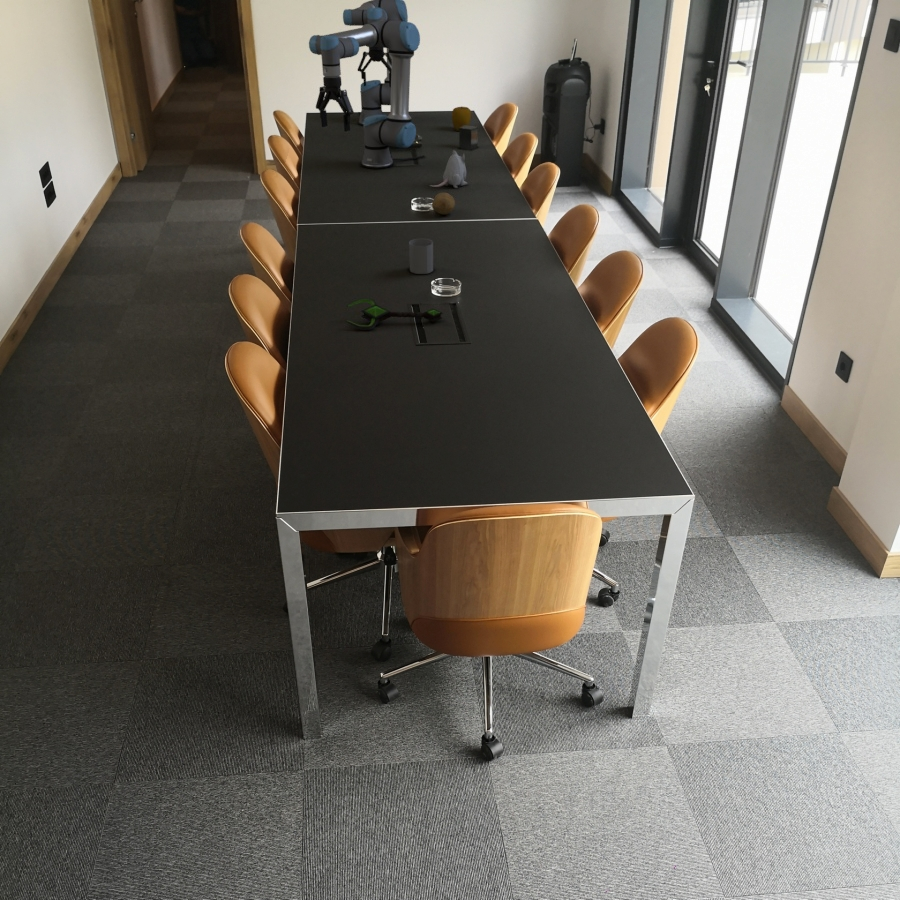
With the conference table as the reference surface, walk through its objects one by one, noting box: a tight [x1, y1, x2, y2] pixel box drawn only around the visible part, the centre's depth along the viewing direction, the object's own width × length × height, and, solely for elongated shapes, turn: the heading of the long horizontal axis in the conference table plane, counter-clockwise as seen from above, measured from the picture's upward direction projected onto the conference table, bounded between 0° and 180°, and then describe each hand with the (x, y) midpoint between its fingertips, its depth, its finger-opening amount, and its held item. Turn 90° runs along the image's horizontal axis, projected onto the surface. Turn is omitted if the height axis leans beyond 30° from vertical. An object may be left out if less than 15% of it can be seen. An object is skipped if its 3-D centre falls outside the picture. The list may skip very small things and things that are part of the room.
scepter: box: [345, 298, 443, 331], centre depth 269 cm, size 6×13×30 cm
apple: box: [451, 105, 472, 132], centre depth 487 cm, size 11×11×13 cm
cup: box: [408, 237, 434, 275], centre depth 305 cm, size 8×8×10 cm
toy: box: [428, 149, 468, 189], centre depth 390 cm, size 9×24×15 cm, turn 137°
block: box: [458, 125, 479, 151], centre depth 454 cm, size 7×7×11 cm
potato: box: [431, 192, 456, 216], centre depth 360 cm, size 10×14×8 cm
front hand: (335, 128), depth 376 cm, fingers open, 13 cm apart
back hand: (377, 86), depth 453 cm, fingers open, 13 cm apart
